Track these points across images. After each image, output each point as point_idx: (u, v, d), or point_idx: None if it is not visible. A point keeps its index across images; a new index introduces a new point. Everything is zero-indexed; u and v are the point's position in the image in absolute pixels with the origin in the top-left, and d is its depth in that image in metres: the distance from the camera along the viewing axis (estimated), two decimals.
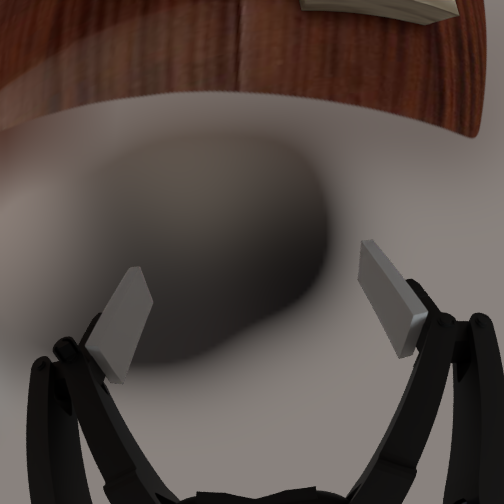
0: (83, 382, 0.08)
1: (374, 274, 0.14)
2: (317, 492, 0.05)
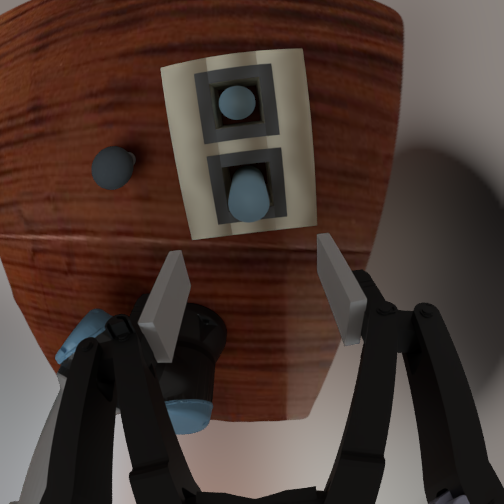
0: (131, 363, 0.09)
1: (326, 265, 0.15)
2: (317, 492, 0.05)
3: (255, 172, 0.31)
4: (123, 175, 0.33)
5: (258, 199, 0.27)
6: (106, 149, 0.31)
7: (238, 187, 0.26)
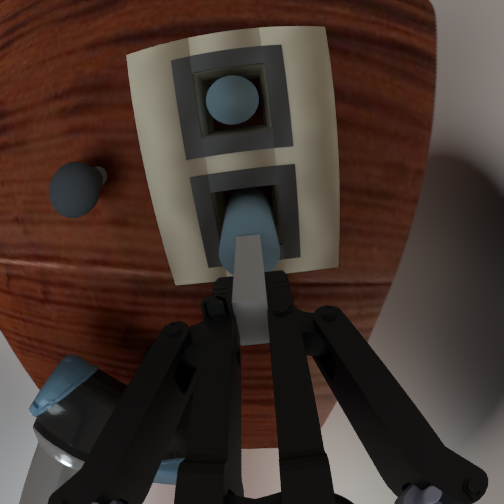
0: (220, 348, 0.10)
1: None
2: None
3: (258, 199, 0.23)
4: (86, 200, 0.24)
5: (263, 247, 0.18)
6: (64, 166, 0.23)
7: (233, 231, 0.18)
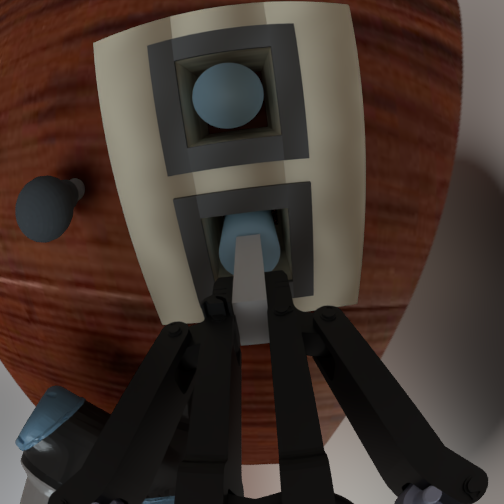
0: (220, 348, 0.10)
1: None
2: None
3: None
4: (55, 223, 0.19)
5: (263, 247, 0.18)
6: (30, 183, 0.18)
7: (234, 230, 0.18)
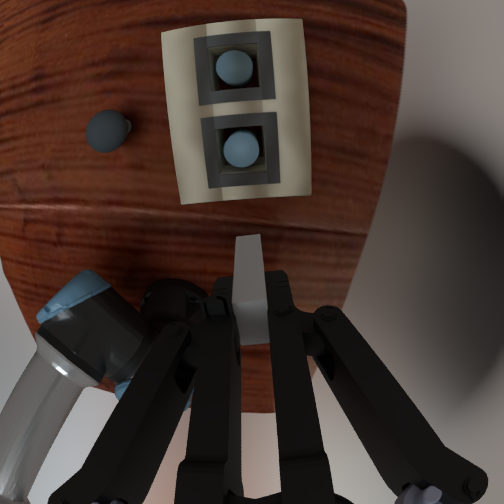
0: (220, 348, 0.10)
1: None
2: None
3: (249, 131, 0.34)
4: (117, 137, 0.31)
5: (249, 147, 0.30)
6: (102, 111, 0.29)
7: (233, 136, 0.30)
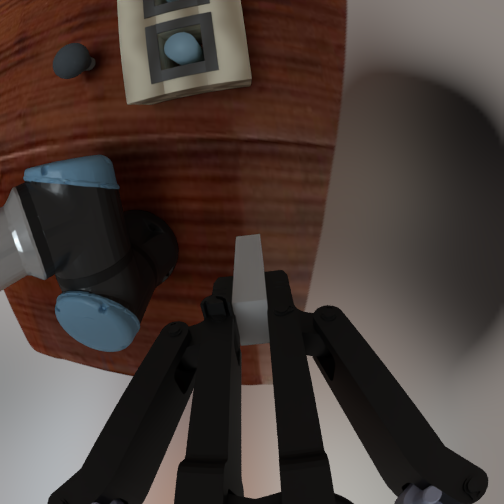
0: (220, 348, 0.10)
1: None
2: None
3: None
4: (77, 60, 0.27)
5: (187, 42, 0.26)
6: None
7: (172, 36, 0.25)
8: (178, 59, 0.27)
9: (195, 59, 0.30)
